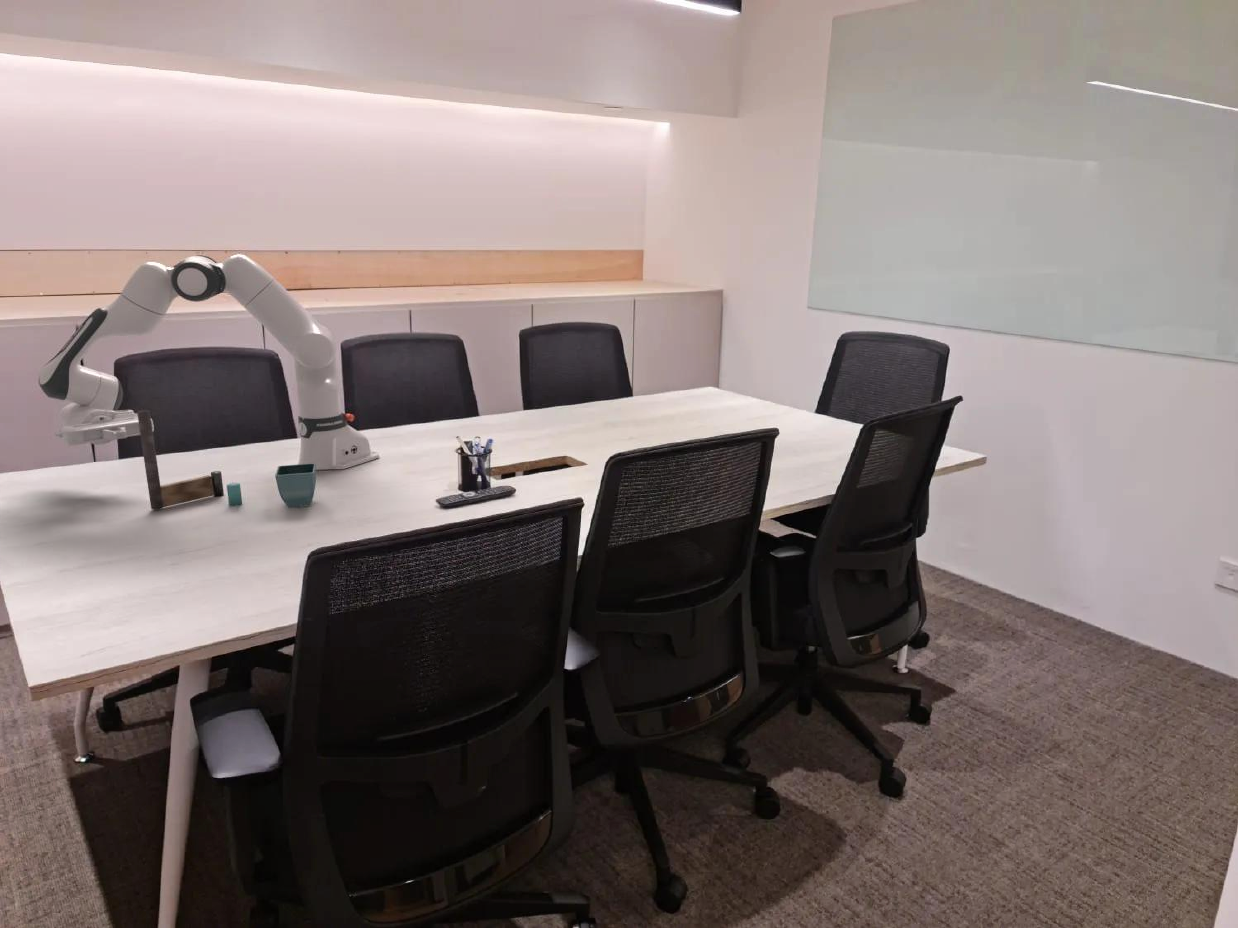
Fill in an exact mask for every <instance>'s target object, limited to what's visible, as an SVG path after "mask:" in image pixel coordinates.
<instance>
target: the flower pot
mask: <svg viewBox="0 0 1238 928" xmlns="http://www.w3.org/2000/svg"><path fill="white" fill-rule="evenodd" d="M274 476H275V482H276V485H277V489H278V493H279V496H280V498H281V501H283V503H284V504H285V505H286V507H287V508H298V507H309V506H311V504H312V502H313V499H314V497H315V491H316V484H317V483H316V482H317V470H316V464H315V463H311V464H299V465H298V464H290V465H288V464H287V465H286V464H285V465H279V466H277V469H276V472H275V474H274Z"/></svg>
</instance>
